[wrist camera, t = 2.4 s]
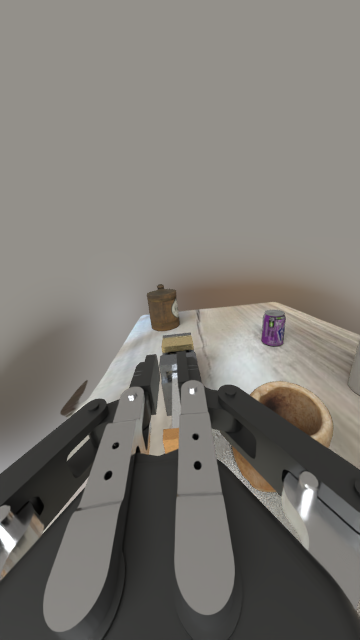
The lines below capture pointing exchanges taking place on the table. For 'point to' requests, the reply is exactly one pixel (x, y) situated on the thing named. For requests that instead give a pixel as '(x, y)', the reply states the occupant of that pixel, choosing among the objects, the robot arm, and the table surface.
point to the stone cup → (289, 420)
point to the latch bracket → (173, 362)
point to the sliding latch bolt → (173, 419)
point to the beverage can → (273, 327)
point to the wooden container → (163, 309)
